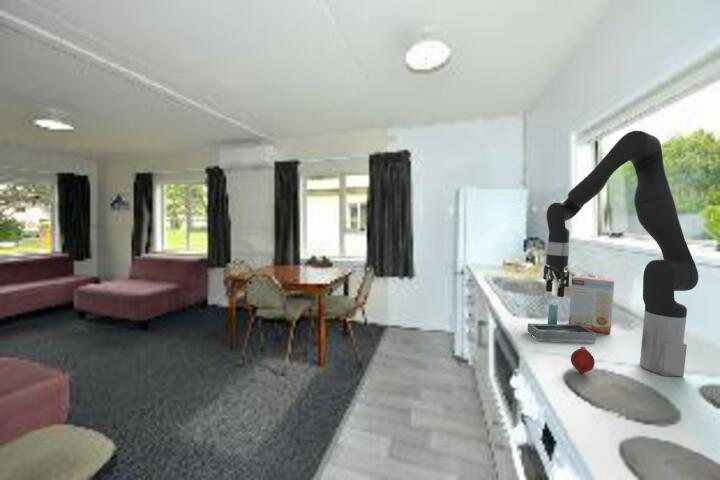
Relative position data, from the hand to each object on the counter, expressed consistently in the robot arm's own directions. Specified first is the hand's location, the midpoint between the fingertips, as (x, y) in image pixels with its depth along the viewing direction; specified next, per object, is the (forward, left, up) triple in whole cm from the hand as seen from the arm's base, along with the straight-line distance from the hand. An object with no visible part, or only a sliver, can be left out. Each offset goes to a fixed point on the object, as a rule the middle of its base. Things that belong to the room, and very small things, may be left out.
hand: (554, 293), depth 135 cm
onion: (-38, +12, -15) cm, 43 cm away
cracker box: (+2, -16, -15) cm, 22 cm away
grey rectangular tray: (-10, +2, -14) cm, 17 cm away
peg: (0, 0, -14) cm, 14 cm away
